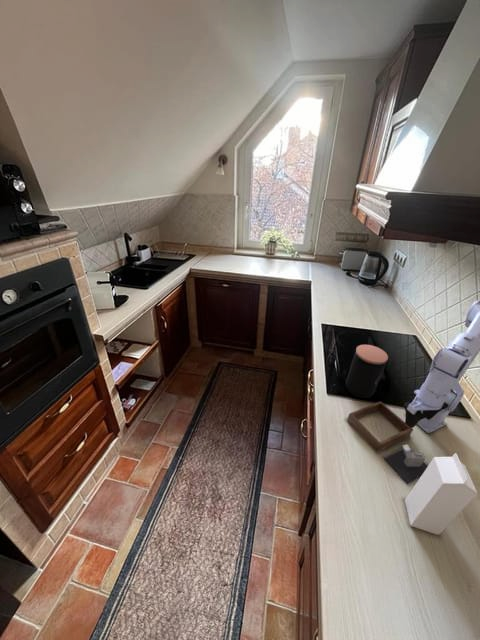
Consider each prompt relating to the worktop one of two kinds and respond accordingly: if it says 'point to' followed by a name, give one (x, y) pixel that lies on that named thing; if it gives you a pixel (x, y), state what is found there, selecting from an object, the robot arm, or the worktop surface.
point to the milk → (440, 494)
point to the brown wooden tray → (389, 415)
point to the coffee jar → (366, 370)
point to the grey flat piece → (413, 457)
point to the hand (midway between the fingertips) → (417, 421)
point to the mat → (404, 467)
